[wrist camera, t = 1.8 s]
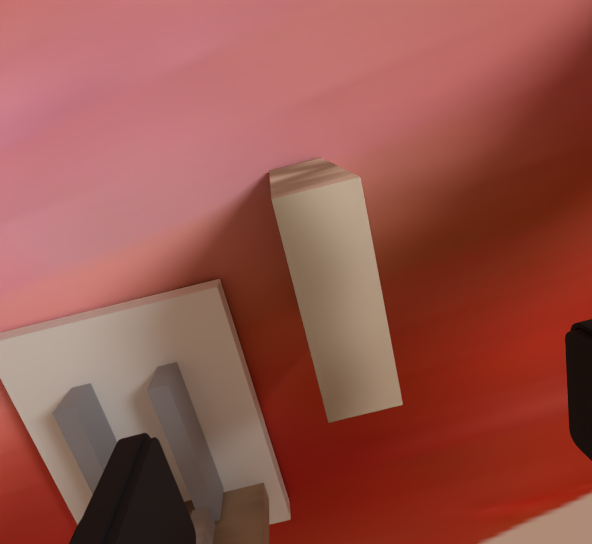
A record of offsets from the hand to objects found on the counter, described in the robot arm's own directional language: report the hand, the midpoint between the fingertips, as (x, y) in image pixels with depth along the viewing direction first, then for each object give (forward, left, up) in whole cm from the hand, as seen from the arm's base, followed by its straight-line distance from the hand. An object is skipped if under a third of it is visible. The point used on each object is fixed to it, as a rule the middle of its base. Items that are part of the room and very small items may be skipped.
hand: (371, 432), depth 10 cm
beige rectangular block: (0, 0, -17) cm, 17 cm away
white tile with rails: (+13, +10, -17) cm, 24 cm away
